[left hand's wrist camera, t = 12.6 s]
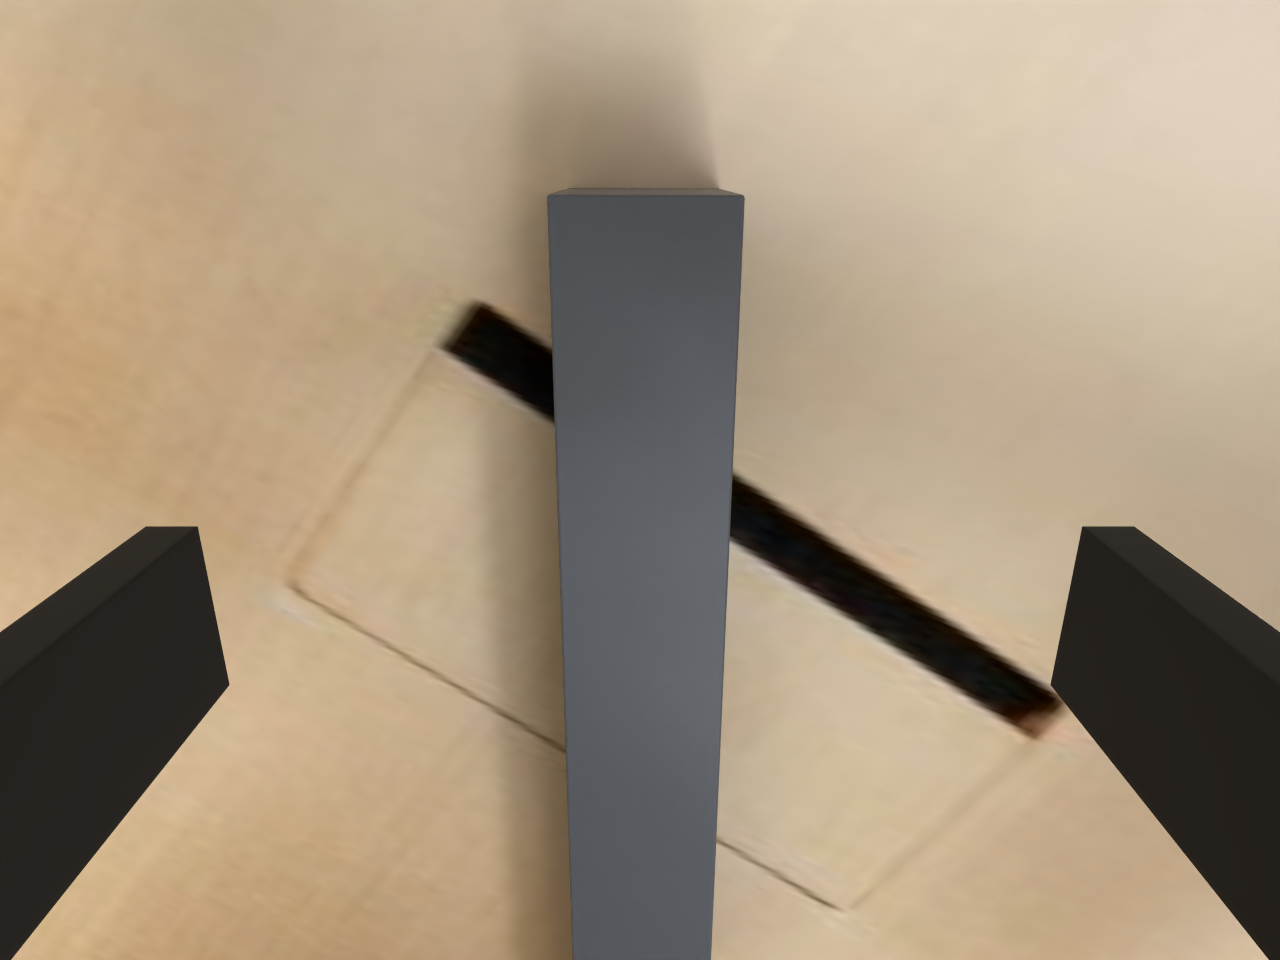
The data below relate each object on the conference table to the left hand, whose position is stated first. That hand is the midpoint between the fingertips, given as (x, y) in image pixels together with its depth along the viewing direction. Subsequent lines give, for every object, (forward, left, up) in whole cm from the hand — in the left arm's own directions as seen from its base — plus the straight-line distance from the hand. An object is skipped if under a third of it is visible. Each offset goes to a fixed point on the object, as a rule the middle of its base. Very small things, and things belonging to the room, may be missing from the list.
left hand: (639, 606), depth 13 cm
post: (+6, +20, -21) cm, 30 cm away
